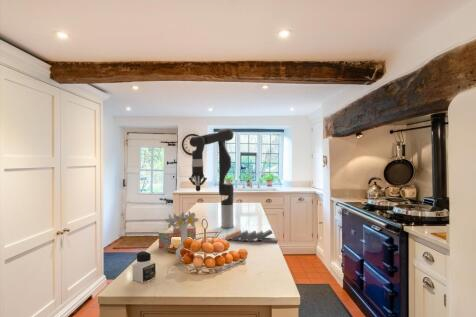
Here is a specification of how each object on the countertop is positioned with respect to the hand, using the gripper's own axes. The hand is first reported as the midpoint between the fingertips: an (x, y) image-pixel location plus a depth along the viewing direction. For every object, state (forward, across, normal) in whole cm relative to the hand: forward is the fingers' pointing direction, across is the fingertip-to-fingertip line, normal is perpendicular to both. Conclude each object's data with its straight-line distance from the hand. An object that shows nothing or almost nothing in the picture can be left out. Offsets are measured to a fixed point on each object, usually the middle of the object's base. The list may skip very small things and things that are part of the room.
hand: (198, 191), depth 192 cm
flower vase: (+31, -6, +42) cm, 52 cm away
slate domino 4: (+30, -44, +4) cm, 53 cm away
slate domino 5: (+30, -41, +4) cm, 50 cm away
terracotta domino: (+30, -20, +4) cm, 36 cm away
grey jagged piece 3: (+30, -31, +5) cm, 43 cm away
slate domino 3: (+30, -35, +5) cm, 46 cm away
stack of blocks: (+31, +5, +24) cm, 39 cm away
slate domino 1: (+30, -25, +4) cm, 39 cm away
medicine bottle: (+31, +1, +68) cm, 75 cm away
